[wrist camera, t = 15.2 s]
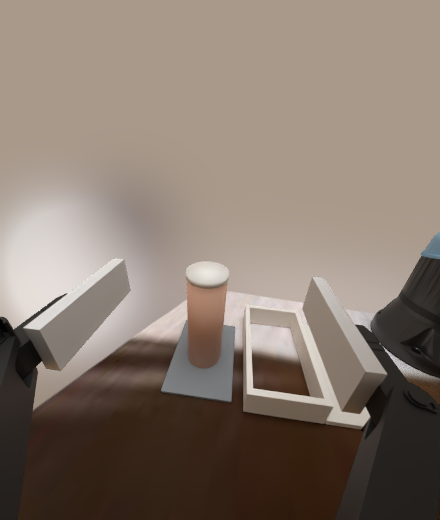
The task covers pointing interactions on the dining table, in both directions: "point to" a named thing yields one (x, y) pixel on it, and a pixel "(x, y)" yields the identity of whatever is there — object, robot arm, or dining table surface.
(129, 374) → the dining table surface
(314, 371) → the white holder tray
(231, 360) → the felt mat
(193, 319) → the tube
